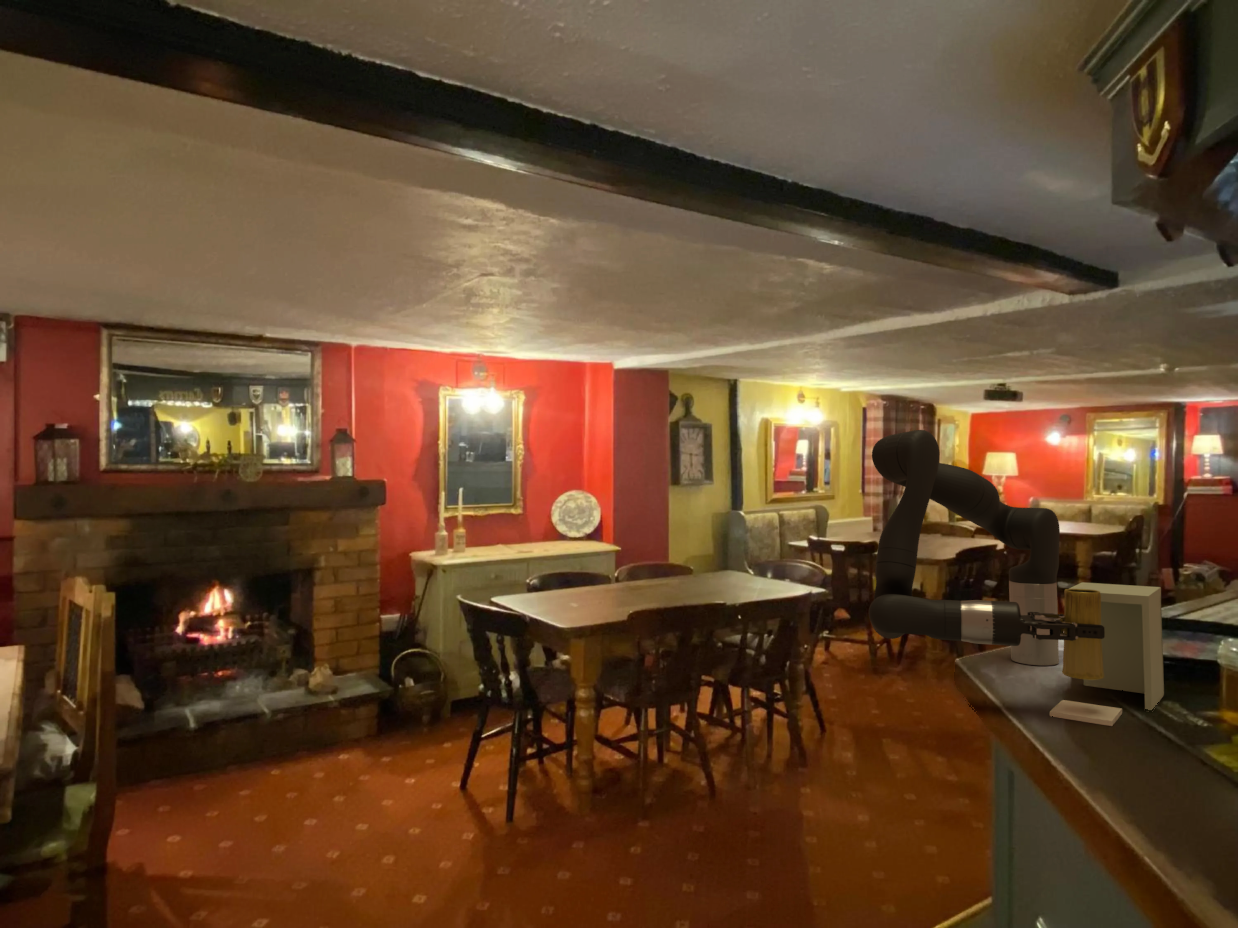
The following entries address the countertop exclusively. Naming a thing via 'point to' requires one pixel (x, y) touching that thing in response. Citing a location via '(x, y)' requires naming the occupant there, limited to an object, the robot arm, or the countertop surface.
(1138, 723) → the countertop surface
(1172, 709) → the countertop surface
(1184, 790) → the countertop surface
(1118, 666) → the shelf nook
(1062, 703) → the tile
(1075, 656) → the vase
